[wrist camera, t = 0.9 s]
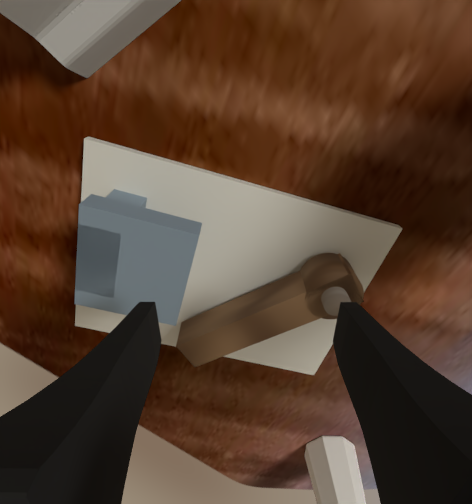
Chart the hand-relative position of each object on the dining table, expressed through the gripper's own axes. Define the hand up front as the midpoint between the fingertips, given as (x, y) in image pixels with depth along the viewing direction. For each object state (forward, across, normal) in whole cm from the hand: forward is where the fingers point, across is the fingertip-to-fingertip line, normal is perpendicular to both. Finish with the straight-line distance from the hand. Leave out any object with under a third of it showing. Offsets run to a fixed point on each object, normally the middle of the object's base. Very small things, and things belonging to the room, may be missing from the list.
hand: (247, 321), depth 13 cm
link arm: (+9, -2, +6) cm, 11 cm away
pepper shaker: (+10, -9, +27) cm, 30 cm away
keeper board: (+10, +1, +4) cm, 11 cm away
